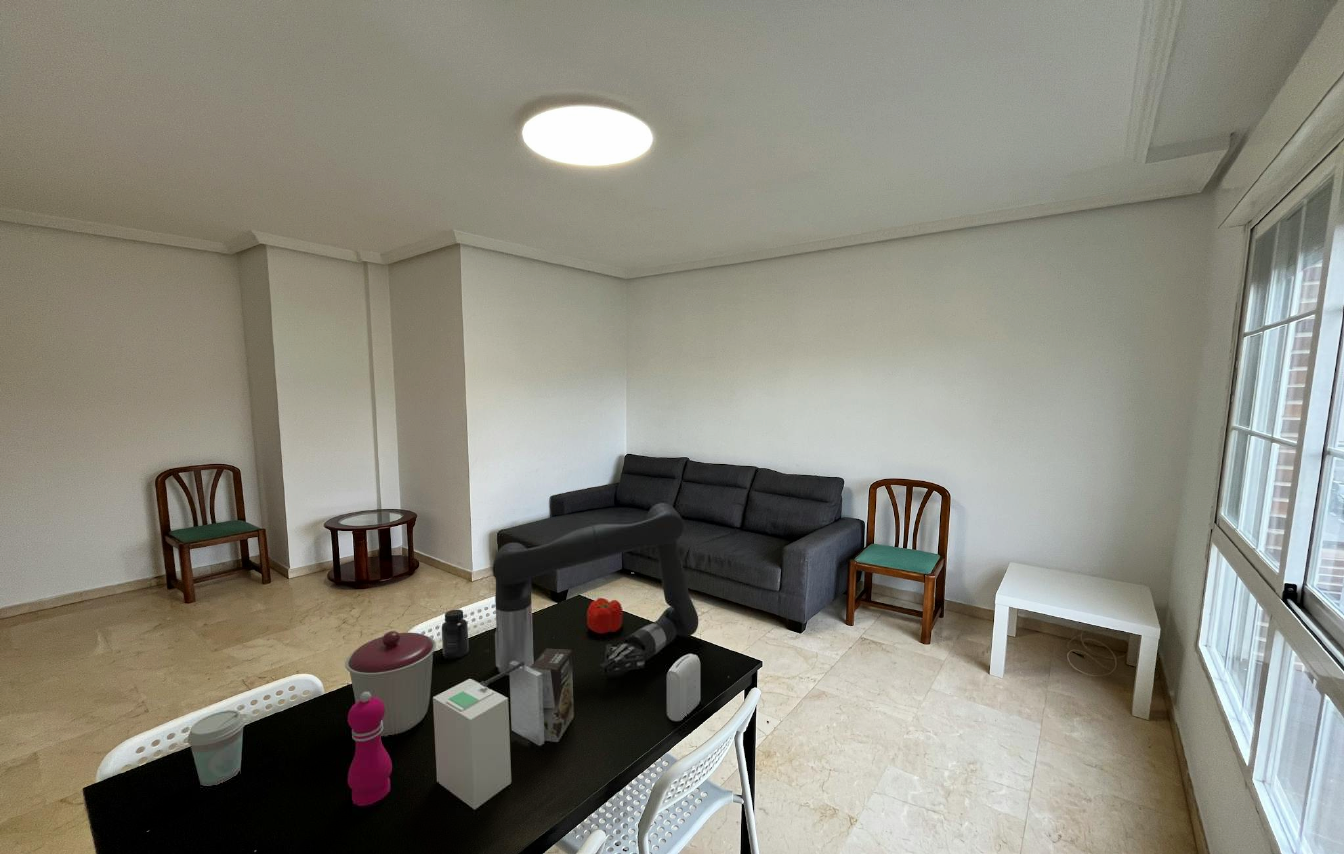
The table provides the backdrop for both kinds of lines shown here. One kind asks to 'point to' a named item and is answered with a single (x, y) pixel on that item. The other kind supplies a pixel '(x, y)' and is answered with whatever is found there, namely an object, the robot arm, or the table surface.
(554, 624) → the table surface
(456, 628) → the supplement bottle
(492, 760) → the gauge housing
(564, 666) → the coffee box
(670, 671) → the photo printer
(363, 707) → the pepper mill
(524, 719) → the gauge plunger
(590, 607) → the red bell pepper
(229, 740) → the coffee cup
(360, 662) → the canister
